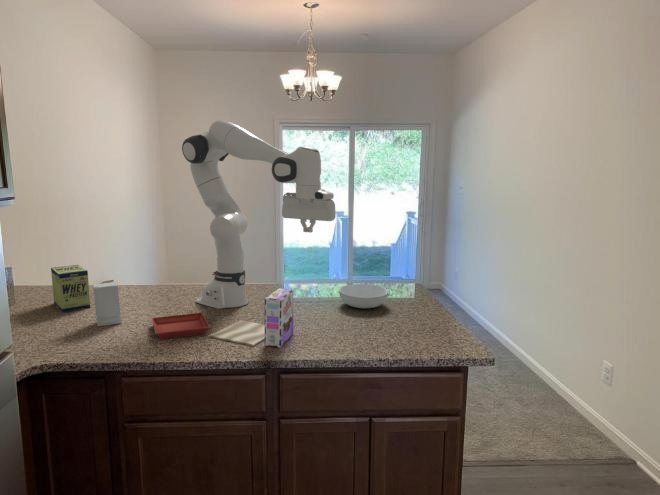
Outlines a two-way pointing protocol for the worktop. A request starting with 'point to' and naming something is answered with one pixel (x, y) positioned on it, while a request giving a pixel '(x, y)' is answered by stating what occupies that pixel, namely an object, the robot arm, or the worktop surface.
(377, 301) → the serving bowl
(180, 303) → the worktop surface
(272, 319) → the candy box
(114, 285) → the skincare box
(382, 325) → the worktop surface
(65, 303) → the protein box
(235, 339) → the birch board
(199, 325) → the plant saucer
